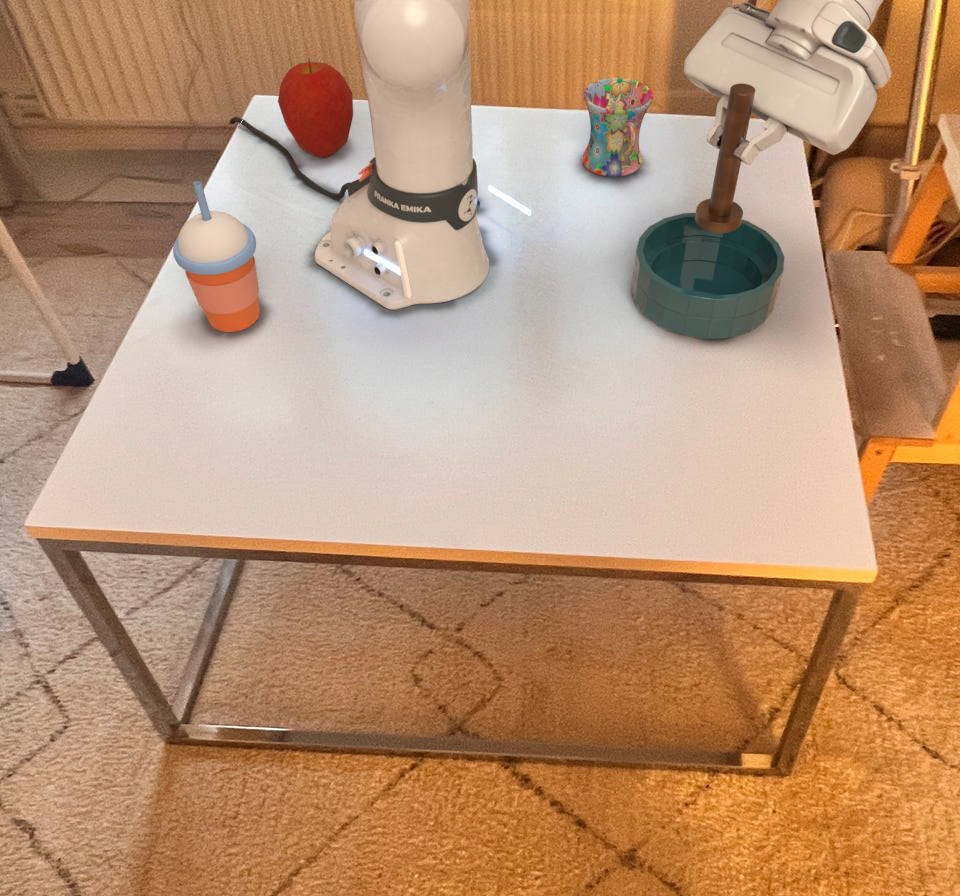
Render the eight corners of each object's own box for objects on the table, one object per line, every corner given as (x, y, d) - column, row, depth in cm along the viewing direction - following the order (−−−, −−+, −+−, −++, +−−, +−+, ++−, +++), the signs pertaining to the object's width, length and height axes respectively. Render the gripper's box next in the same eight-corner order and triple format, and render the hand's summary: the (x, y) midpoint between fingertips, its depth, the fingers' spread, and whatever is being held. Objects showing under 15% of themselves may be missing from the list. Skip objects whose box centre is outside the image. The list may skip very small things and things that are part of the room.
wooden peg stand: (687, 224, 101) (708, 93, 90) (706, 202, 104) (729, 72, 93) (730, 238, 99) (757, 106, 88) (748, 215, 102) (777, 84, 91)
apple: (370, 140, 138) (359, 47, 127) (338, 174, 131) (324, 80, 121) (309, 128, 140) (294, 36, 130) (275, 161, 134) (256, 67, 124)
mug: (571, 152, 134) (575, 81, 126) (632, 144, 135) (640, 73, 127) (595, 197, 126) (601, 125, 118) (660, 188, 127) (670, 116, 119)
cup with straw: (256, 345, 107) (221, 211, 94) (183, 336, 109) (138, 203, 95) (283, 296, 113) (253, 164, 100) (213, 288, 115) (174, 157, 101)
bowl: (607, 312, 110) (611, 268, 105) (667, 241, 119) (674, 197, 114) (739, 362, 103) (750, 317, 99) (792, 283, 113) (805, 238, 108)
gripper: (722, -20, 95) (642, 100, 98) (891, 49, 84) (794, 182, 87) (744, 12, 100) (667, 126, 103) (906, 81, 89) (814, 206, 92)
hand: (727, 152), depth 95 cm, fingers closed on wooden peg stand, 2 cm apart
